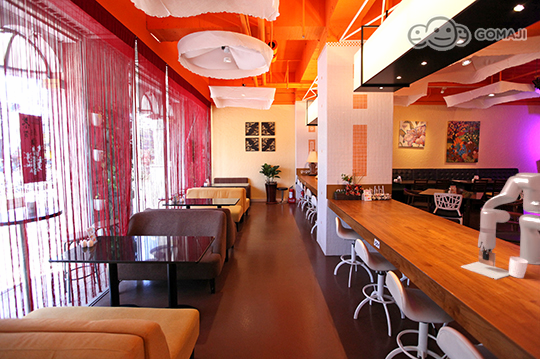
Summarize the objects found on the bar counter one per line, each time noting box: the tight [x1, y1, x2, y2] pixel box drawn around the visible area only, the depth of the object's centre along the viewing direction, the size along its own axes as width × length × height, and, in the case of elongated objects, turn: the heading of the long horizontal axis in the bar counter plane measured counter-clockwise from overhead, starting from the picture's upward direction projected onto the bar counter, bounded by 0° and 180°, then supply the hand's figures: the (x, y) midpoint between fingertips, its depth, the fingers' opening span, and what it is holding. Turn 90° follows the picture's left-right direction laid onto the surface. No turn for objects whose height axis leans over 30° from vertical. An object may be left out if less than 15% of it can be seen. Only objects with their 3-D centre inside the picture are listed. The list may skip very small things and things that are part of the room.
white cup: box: [508, 256, 529, 279], centre depth 157 cm, size 8×8×10 cm
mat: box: [460, 261, 511, 281], centre depth 167 cm, size 18×20×1 cm
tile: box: [478, 249, 497, 267], centre depth 166 cm, size 2×8×8 cm, turn 21°
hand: (486, 259), depth 166 cm, fingers closed on tile, 1 cm apart
